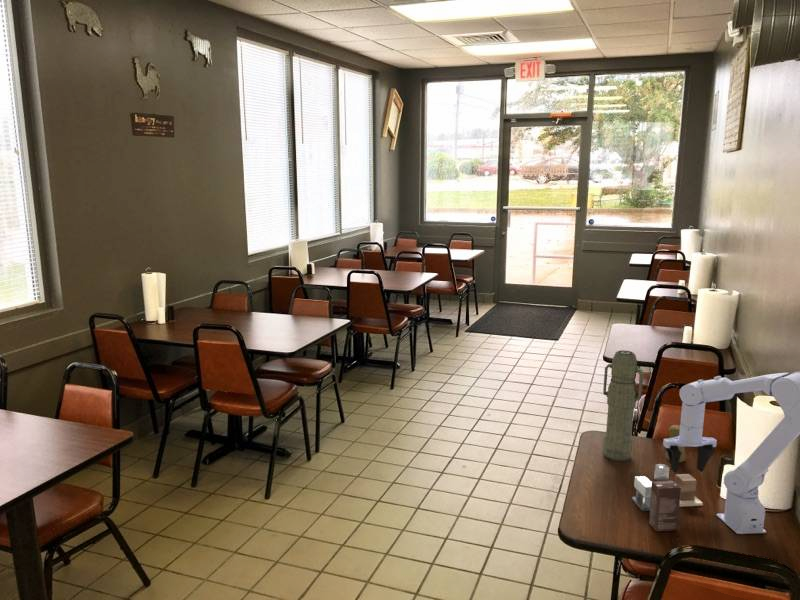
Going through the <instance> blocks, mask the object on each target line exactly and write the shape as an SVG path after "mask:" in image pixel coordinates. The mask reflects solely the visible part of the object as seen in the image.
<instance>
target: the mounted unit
mask: <svg viewBox="0 0 800 600" xmlns="http://www.w3.org/2000/svg"><path fill="white" fill-rule="evenodd" d="M633 483H634V484H633V487H634V488H635V491H636V492H635V496H631V501H632V502H634V504H635V505H637V507H638V508H639V509H640V510H641V511H642V512H650V501H651V486H652V481H651V480H650V479H649V478H648V477H646V476H645V475H642V476H641V475H640V476H637V475H636V476H634V481H633Z"/></svg>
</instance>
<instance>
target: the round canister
mask: <svg viewBox="0 0 800 600" xmlns="http://www.w3.org/2000/svg"><path fill="white" fill-rule="evenodd" d="M653 474H654V477H653V478H654V480H655V481H669V479H670V478H669V477H670V476H669V475H670V466H668V465H667V464H663V463H657V464H655V466H654V473H653Z"/></svg>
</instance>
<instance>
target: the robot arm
mask: <svg viewBox="0 0 800 600" xmlns="http://www.w3.org/2000/svg"><path fill="white" fill-rule="evenodd" d="M788 374H789V375H788ZM759 391H762V392H763V393H765V394H766V395H767V396H769V397H770V396H772V397H773V398H774V400H775V402H776V403H777V404H778V406H779V407H780V409H781V410H782V413H783V414H784V416H783V418H782V419H781V421H779V423H777V425H776V426H775V427H774V428H773V429H772V430H771V432H770V433H769V434H768V435H767V436H765V438H764V439H763V441H762V442H761V443H760V444H759V445H758V446H757V448H756V449H754V451H753V452H752V453H751V454H750V455H749V456H748V457H747V459H745V460H744V461H743V462H741V464H739V465H738V466H737V467H736V468H734V469H732V470H730V471H728V472H726V473H725V474H724V476H723V477H724V478H723V484H724V486H725V488H726V496H725V497H726V498H725V505H724V512H723V513H717V514H716V517H718V518H719V519H720V521H722V522H723V523H724V524H725V525H727V526H728V527H729V528H730V529H731V530H732V531H733V532H735V533H736V534H737V535H739V534H740V535H745V534H766V533H767V530H766V529H764V526H765V519H766V518H765V517H766V509H765V506H764V504H763V503H762V502H761V500H760V498H759V487H760V486H761V485H762V484H763V483H764V481H765V476H766V475H767V473H768V472H769V468H770V467H771V466H772V465H773V463H775V461H776V460H778V458H779V457H780V456H781V455H782V454H783V453H784V452H785V451H786V450H787V448H788V447H789V446H790V445H791V444H792V443H793V442H794V441H795V440H796V439H797V437H799V436H800V371H794V372H792V373H790V372H778V373H770V374H764V375H763V374H762V375H759V376H754V377H748V378H744V379H743V378H742V379H737V380H731V379H729V378H728V377H722V376H721V375H717V376H714V377H713V379H712V378H711V379H708V380H707V379H705V380H704V379H698V380H696V381H693V382H690V383H687V384H685V385H683V386H681V388H680V389H679V391H678V392H679V397H680V400H681V402H682V403H681V414H680V424H679V426H680V434H679V436H678V437H674V438H670V437H669V438H663V442H662V446H663V447H664V449H665V452H666V451H667V453H668V456H669V459H670V460H669V463H670V470H671V471H673V473H676V474H677V473H678V471H679V463H680V462H679V459H680V456H681V454H682V452H680V451H679V448H678V447H684V448H686V447H689V448H690V447H695V448H697V449H696V450H697V451H696V452H697V456H696V457H697V460H696V461H697V462H696V469H697V470H698V471H699V472H701V473H703V472H704V470H705V467H706V465H707V463H708V461H709V460H710V459H711V457H712V456H713V455H714V454H715V452H716V451H715V448H716V447H717V441H718V440H717V439H716V438H715V437H707V436H703V433H704V432H703V431H704V420H705V411H706V404H707V403H710V402H718V401H725V400H731V399H733V398H734V396H735V394H741V393H751V392H759Z"/></svg>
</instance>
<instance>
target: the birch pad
mask: <svg viewBox="0 0 800 600" xmlns="http://www.w3.org/2000/svg"><path fill="white" fill-rule="evenodd" d="M703 505H704V504H703V502H702V501H701V500H700V499H699V498H698V497H697V496H695V500H690V501H681V500H680V505H679V508H681V507H702V506H703Z"/></svg>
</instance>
